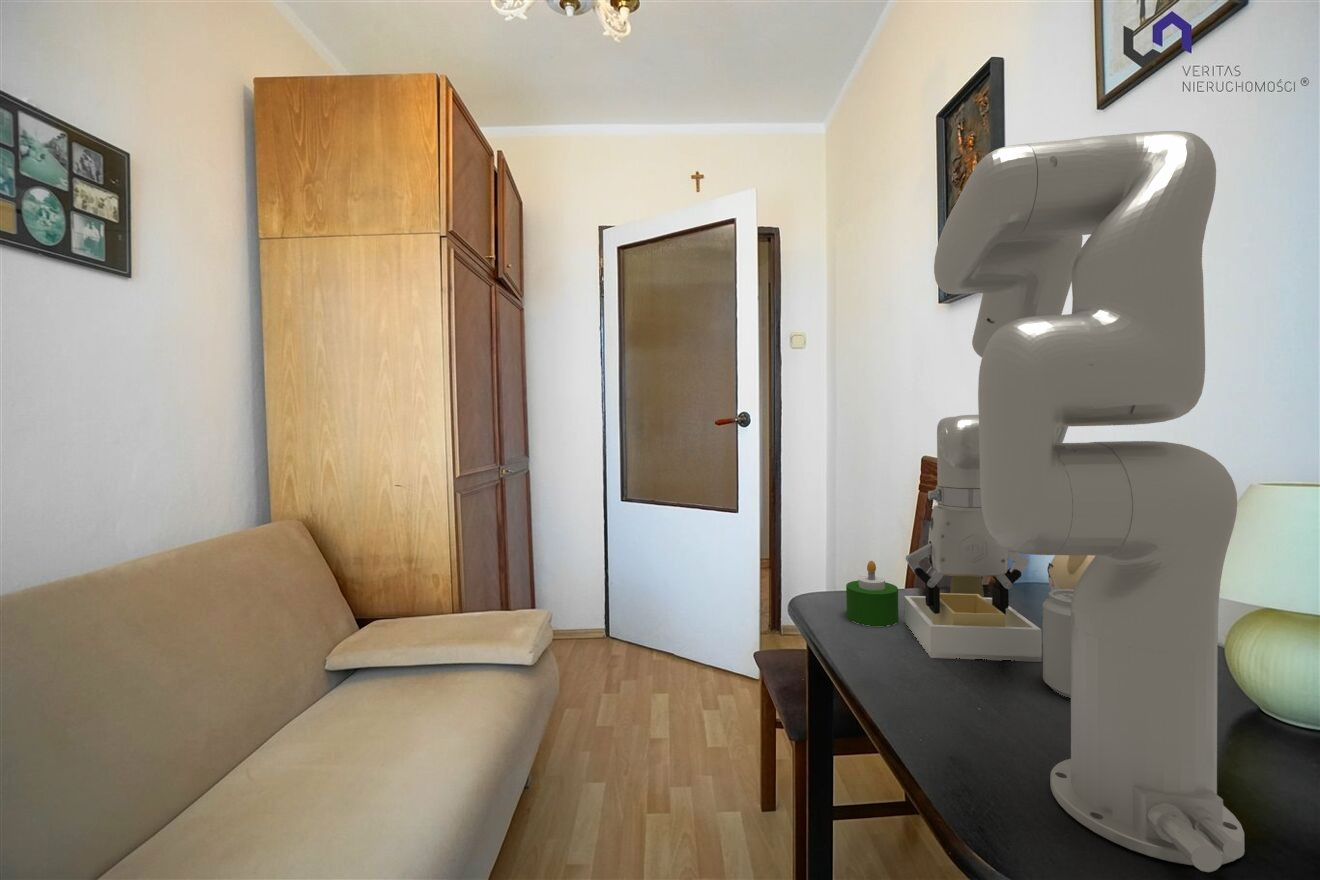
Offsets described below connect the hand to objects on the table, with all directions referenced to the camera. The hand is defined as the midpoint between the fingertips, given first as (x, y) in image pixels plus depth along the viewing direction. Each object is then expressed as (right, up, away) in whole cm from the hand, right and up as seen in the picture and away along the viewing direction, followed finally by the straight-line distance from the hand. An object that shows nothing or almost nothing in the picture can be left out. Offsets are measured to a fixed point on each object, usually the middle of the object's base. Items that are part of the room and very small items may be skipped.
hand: (966, 611), depth 88 cm
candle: (-10, -5, +11) cm, 16 cm away
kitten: (+21, -4, +4) cm, 22 cm away
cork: (+8, -4, +15) cm, 18 cm away
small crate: (0, -4, 0) cm, 4 cm away
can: (+5, -5, -17) cm, 18 cm away
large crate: (0, -4, 0) cm, 4 cm away
